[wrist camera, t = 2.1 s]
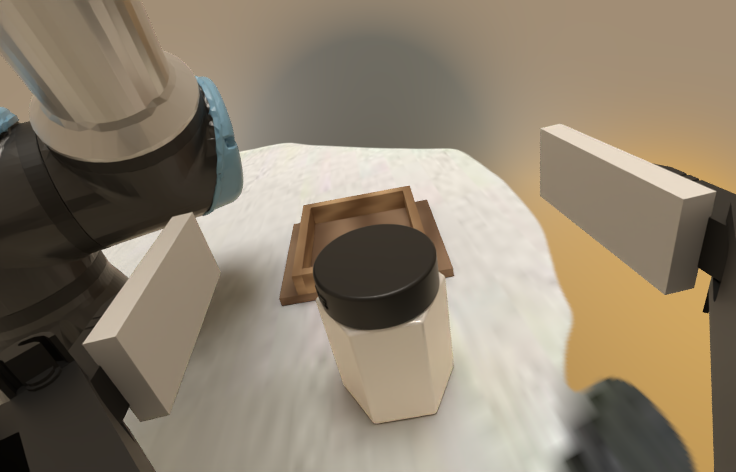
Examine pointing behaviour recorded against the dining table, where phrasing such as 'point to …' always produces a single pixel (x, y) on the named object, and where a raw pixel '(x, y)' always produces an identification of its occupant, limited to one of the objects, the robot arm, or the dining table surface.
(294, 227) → the wooden tray
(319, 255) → the jar
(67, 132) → the robot arm
